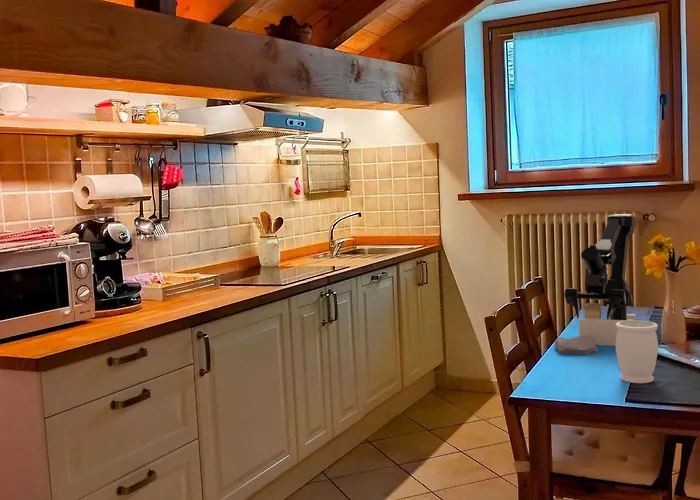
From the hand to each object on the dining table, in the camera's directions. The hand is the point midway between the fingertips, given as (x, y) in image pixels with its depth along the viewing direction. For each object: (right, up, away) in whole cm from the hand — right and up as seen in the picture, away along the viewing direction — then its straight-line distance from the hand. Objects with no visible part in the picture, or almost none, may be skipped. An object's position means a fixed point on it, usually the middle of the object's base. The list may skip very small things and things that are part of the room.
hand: (592, 318), depth 238 cm
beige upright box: (+2, -8, -3) cm, 9 cm away
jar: (-2, -13, -42) cm, 44 cm away
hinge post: (+10, -8, -7) cm, 15 cm away
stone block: (-8, -10, -10) cm, 16 cm away
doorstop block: (+1, -8, +2) cm, 8 cm away
